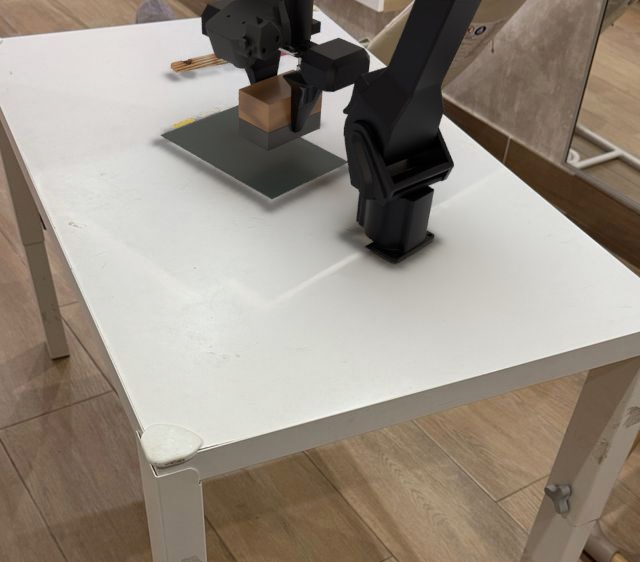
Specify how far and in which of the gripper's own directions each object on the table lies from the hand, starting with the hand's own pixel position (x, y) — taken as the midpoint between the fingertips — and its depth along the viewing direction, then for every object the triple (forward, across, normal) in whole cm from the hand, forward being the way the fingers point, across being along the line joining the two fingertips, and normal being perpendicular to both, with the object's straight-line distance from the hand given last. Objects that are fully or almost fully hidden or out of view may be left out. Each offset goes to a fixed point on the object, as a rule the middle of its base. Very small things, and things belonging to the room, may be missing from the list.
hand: (280, 123), depth 88 cm
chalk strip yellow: (+4, -12, -3) cm, 13 cm away
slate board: (+5, -3, -1) cm, 6 cm away
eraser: (+1, 0, 0) cm, 1 cm away
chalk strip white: (+4, -12, +1) cm, 13 cm away
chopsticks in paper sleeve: (+5, -22, +15) cm, 27 cm away
